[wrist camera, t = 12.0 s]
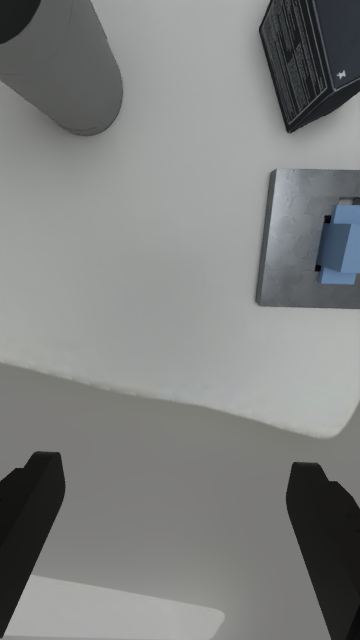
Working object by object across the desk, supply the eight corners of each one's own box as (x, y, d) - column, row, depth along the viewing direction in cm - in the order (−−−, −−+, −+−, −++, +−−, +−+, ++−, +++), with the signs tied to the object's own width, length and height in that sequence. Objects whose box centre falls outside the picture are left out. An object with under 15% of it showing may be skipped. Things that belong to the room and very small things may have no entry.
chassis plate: (270, 172, 33) (277, 168, 31) (422, 175, 33) (441, 171, 30) (255, 300, 38) (259, 306, 36) (385, 304, 38) (398, 310, 36)
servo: (323, 206, 34) (356, 202, 27) (356, 207, 34) (396, 203, 27) (309, 278, 37) (336, 290, 30) (339, 279, 37) (372, 291, 30)
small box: (343, 106, 31) (418, 52, 21) (286, 135, 32) (331, 97, 22) (318, -9, 27) (391, -138, 18) (256, 27, 28) (292, -75, 19)
